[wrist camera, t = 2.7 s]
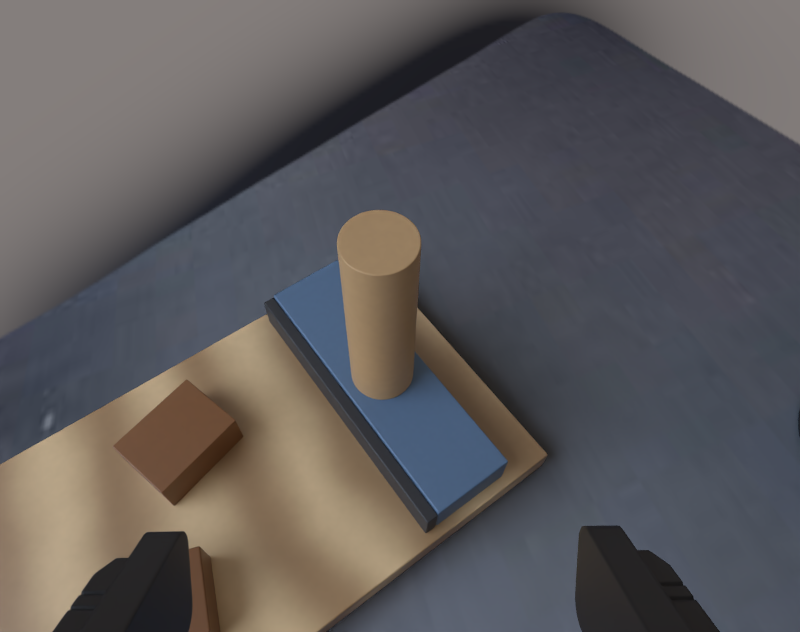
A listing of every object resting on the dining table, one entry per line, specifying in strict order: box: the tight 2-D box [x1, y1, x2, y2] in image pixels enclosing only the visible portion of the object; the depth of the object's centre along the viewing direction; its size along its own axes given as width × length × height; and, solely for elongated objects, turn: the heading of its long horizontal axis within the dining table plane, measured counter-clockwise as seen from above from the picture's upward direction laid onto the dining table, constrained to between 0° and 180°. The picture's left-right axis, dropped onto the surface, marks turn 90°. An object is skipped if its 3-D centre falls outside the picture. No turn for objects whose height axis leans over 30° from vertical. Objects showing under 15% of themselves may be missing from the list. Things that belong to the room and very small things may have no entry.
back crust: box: [113, 379, 243, 506], centre depth 31 cm, size 4×3×2 cm
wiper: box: [264, 210, 508, 533], centre depth 28 cm, size 5×14×12 cm, turn 36°
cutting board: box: [0, 308, 547, 632], centre depth 32 cm, size 24×15×2 cm, turn 126°
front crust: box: [91, 546, 220, 632], centre depth 27 cm, size 4×3×2 cm
